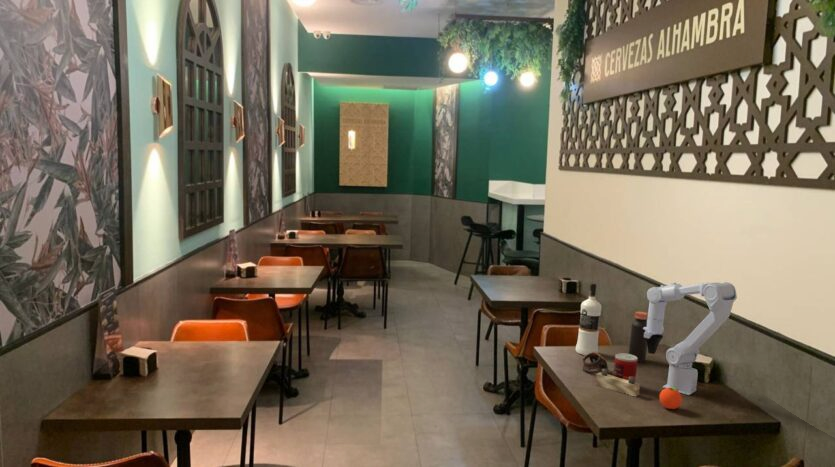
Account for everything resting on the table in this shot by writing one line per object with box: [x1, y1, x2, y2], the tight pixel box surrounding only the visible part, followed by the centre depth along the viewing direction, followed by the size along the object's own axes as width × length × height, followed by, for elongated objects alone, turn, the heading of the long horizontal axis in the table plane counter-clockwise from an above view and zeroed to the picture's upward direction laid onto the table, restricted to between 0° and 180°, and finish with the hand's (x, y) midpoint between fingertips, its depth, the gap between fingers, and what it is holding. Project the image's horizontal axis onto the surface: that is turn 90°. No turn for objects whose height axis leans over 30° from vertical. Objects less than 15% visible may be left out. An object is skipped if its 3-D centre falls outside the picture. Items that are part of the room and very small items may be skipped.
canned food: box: [612, 352, 638, 381], centre depth 226 cm, size 8×8×11 cm
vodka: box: [575, 282, 602, 356], centre depth 262 cm, size 9×9×30 cm
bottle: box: [628, 311, 648, 363], centre depth 257 cm, size 7×7×20 cm
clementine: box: [658, 387, 683, 410], centre depth 208 cm, size 8×7×7 cm
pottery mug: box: [581, 352, 609, 371], centre depth 242 cm, size 12×10×8 cm
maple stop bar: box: [594, 369, 641, 398], centre depth 222 cm, size 15×3×6 cm, turn 48°
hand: (651, 353), depth 237 cm, fingers closed
